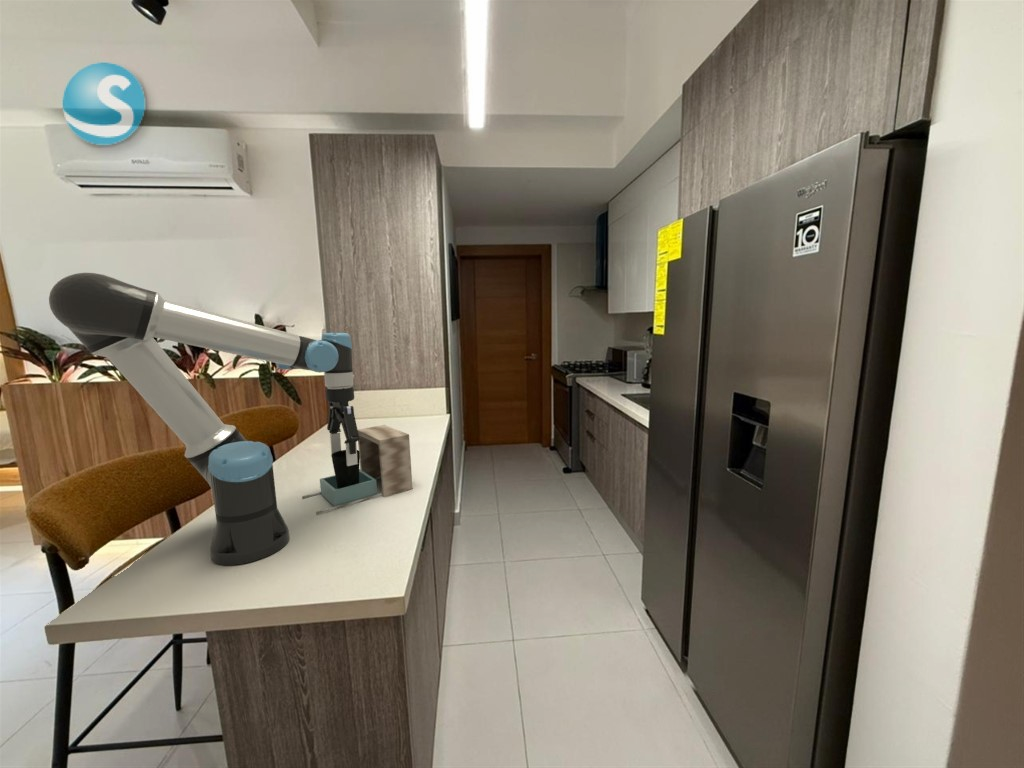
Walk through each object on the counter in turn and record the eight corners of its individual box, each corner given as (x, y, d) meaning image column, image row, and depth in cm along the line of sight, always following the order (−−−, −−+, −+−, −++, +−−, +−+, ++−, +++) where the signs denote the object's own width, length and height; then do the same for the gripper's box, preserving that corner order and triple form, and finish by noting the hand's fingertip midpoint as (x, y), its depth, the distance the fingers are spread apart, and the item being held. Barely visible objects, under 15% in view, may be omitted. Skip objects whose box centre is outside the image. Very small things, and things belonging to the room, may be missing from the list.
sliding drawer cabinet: (318, 516, 110) (312, 454, 108) (300, 496, 124) (295, 440, 121) (412, 488, 127) (409, 434, 125) (387, 474, 141) (384, 424, 138)
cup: (353, 498, 119) (349, 457, 117) (329, 496, 121) (325, 456, 119) (367, 487, 127) (364, 449, 125) (345, 486, 128) (341, 448, 126)
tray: (335, 507, 115) (333, 491, 114) (321, 494, 125) (319, 478, 124) (377, 495, 122) (376, 479, 122) (361, 483, 132) (359, 469, 132)
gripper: (369, 390, 112) (373, 466, 115) (338, 382, 131) (342, 448, 134) (340, 392, 107) (345, 472, 110) (313, 384, 126) (317, 452, 129)
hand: (344, 459), depth 122 cm, fingers open, 13 cm apart
